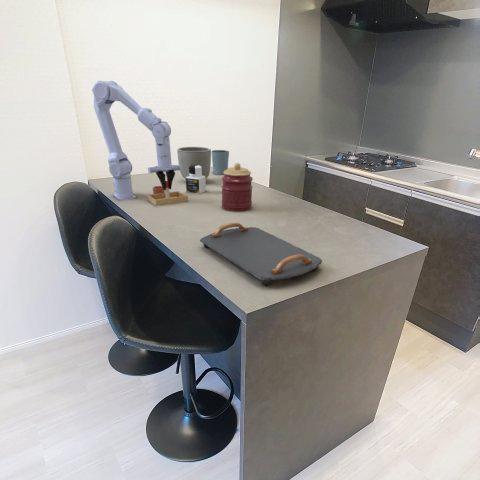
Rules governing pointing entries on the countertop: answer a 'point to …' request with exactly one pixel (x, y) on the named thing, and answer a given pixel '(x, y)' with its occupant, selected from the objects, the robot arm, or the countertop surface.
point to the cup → (158, 190)
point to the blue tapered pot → (220, 161)
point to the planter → (194, 159)
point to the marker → (167, 189)
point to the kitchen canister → (237, 189)
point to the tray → (161, 198)
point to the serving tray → (260, 252)
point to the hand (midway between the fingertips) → (166, 189)
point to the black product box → (195, 180)
